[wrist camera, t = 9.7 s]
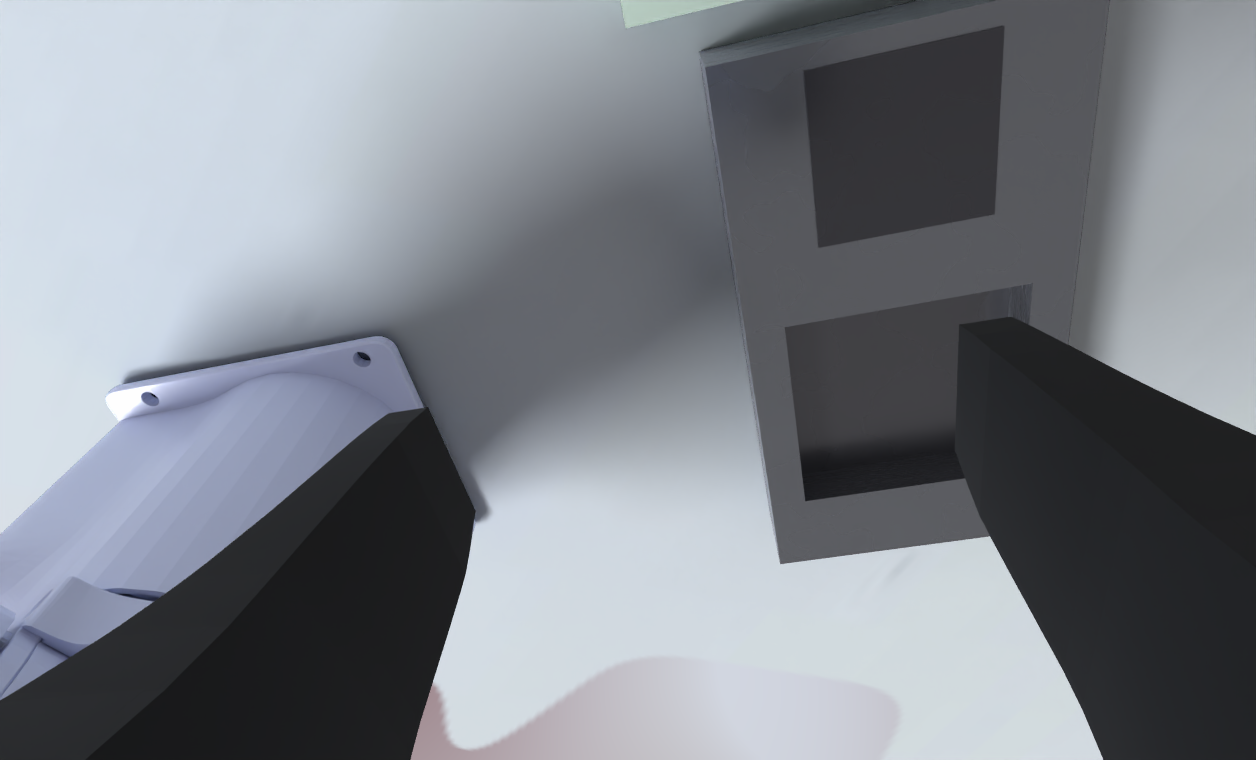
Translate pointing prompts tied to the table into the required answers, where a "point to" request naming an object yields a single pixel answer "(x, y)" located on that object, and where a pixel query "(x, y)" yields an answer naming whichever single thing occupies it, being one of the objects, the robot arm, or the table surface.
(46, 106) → the table surface
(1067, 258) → the plate with square cutouts
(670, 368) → the table surface
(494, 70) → the table surface
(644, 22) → the tray
